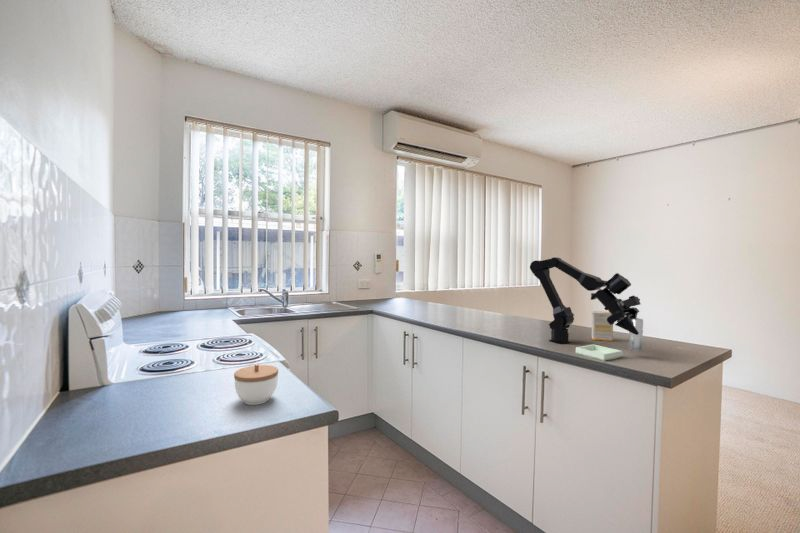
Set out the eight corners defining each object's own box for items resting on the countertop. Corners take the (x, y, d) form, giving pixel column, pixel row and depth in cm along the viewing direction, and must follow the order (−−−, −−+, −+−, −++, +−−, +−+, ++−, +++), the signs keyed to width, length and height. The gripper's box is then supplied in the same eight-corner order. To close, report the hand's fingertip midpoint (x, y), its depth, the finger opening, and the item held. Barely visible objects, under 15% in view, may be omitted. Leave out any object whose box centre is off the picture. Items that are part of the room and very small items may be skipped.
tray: (575, 353, 146) (575, 347, 146) (593, 350, 151) (593, 344, 151) (603, 361, 136) (604, 354, 135) (622, 357, 141) (622, 350, 141)
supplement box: (610, 339, 172) (611, 311, 171) (612, 341, 167) (613, 313, 167) (590, 337, 174) (591, 310, 174) (592, 340, 170) (593, 312, 169)
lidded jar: (246, 412, 88) (246, 374, 88) (226, 400, 95) (226, 364, 95) (286, 400, 96) (286, 364, 96) (265, 389, 103) (265, 356, 103)
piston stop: (626, 348, 143) (627, 318, 143) (632, 347, 145) (633, 317, 145) (637, 351, 139) (639, 320, 139) (644, 350, 141) (645, 319, 141)
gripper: (617, 290, 138) (649, 323, 130) (634, 287, 150) (665, 318, 142) (594, 308, 145) (624, 341, 137) (613, 304, 157) (641, 334, 149)
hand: (639, 333), depth 141 cm, fingers closed on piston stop, 4 cm apart
